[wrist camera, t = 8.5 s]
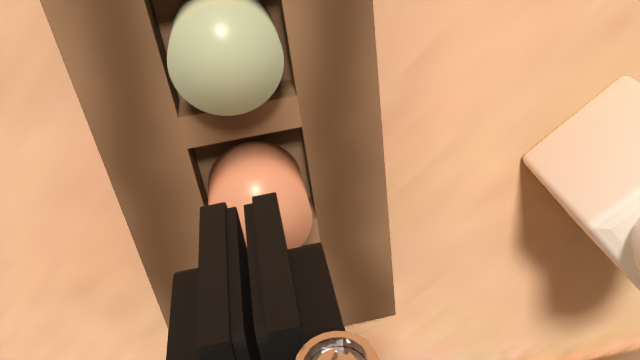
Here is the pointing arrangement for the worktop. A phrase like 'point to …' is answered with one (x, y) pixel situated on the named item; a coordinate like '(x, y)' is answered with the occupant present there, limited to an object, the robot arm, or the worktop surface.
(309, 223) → the peach rounded dome
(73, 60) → the button board
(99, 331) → the worktop surface
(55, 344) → the worktop surface
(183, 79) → the sage button
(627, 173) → the medicine bottle
